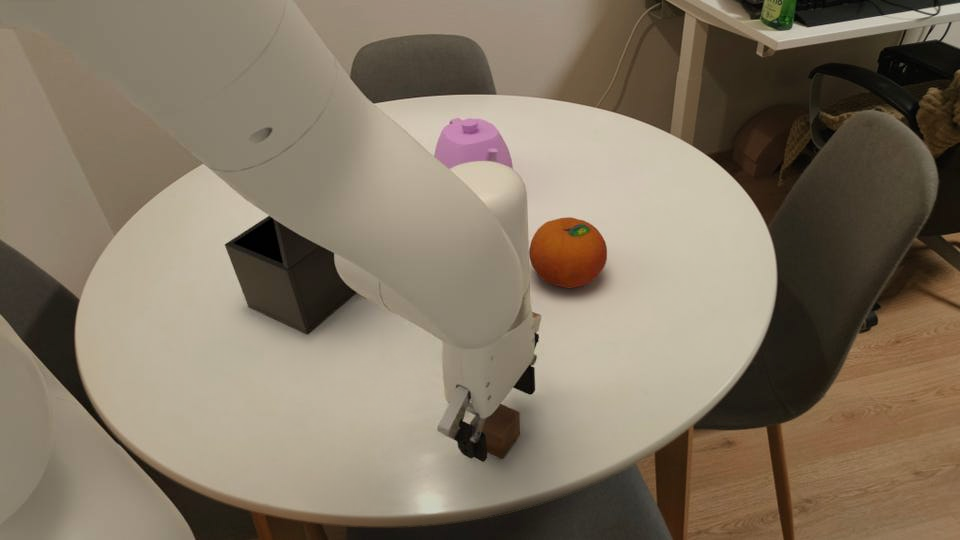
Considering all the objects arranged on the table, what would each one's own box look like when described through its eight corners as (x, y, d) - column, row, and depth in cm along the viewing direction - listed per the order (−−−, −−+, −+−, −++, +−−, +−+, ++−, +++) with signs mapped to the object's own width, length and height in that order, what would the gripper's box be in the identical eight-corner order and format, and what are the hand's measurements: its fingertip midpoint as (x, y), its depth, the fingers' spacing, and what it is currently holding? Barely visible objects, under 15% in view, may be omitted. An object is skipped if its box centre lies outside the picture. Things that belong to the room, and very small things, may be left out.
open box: (248, 307, 88) (224, 244, 81) (321, 252, 97) (305, 191, 90) (307, 335, 82) (286, 270, 76) (378, 274, 92) (366, 212, 85)
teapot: (422, 170, 115) (414, 110, 108) (488, 153, 119) (484, 94, 112) (463, 224, 101) (456, 158, 93) (536, 202, 104) (536, 138, 97)
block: (502, 460, 65) (501, 438, 63) (472, 445, 67) (469, 422, 65) (520, 434, 68) (519, 411, 65) (490, 420, 70) (489, 397, 67)
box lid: (264, 180, 67) (298, 195, 65) (354, 126, 77) (387, 138, 75) (283, 266, 76) (314, 282, 74) (363, 208, 85) (392, 221, 83)
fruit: (516, 285, 88) (515, 238, 83) (549, 246, 95) (549, 201, 90) (587, 308, 83) (590, 260, 78) (616, 265, 90) (620, 218, 85)
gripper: (501, 235, 62) (509, 354, 73) (393, 346, 52) (420, 466, 62) (569, 256, 59) (567, 378, 70) (469, 379, 48) (484, 501, 59)
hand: (498, 419), depth 66 cm, fingers open, 9 cm apart
